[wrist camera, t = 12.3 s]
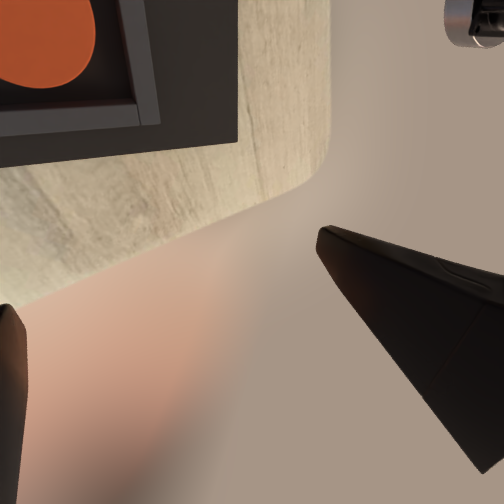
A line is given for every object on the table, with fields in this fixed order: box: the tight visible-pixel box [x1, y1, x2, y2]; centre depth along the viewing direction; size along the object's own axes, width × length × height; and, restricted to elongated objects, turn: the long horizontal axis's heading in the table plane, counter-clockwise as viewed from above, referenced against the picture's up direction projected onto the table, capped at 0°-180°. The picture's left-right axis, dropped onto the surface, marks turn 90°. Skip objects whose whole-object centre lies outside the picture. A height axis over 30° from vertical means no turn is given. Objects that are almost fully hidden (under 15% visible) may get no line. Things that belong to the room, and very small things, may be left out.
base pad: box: [0, 0, 238, 168], centre depth 13 cm, size 14×12×2 cm
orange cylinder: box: [0, 0, 95, 88], centre depth 11 cm, size 4×4×5 cm
